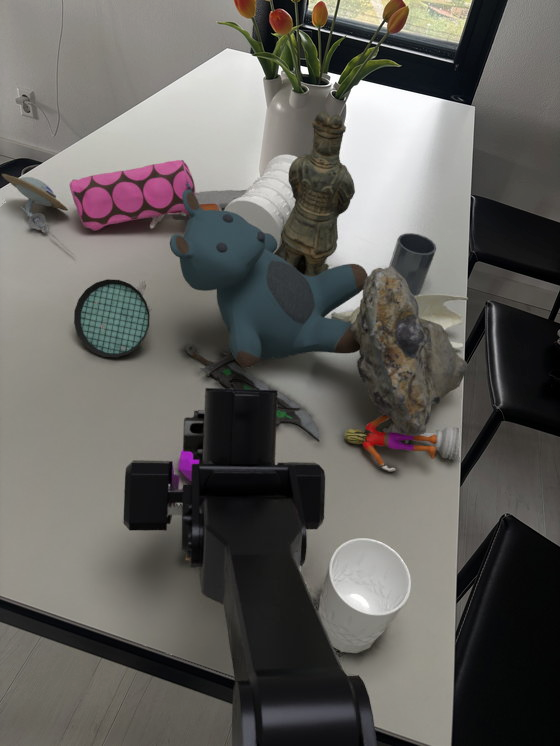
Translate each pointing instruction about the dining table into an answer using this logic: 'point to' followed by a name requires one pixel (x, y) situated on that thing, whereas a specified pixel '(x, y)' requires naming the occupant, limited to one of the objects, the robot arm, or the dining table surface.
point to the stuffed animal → (263, 288)
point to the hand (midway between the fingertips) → (219, 481)
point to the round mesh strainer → (112, 317)
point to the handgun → (213, 201)
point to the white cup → (362, 593)
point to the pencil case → (132, 194)
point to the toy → (36, 200)
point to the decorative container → (268, 199)
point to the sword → (253, 388)
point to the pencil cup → (413, 259)
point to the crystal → (186, 463)
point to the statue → (317, 198)
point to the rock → (402, 353)
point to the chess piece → (439, 440)
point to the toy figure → (387, 440)
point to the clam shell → (423, 312)
